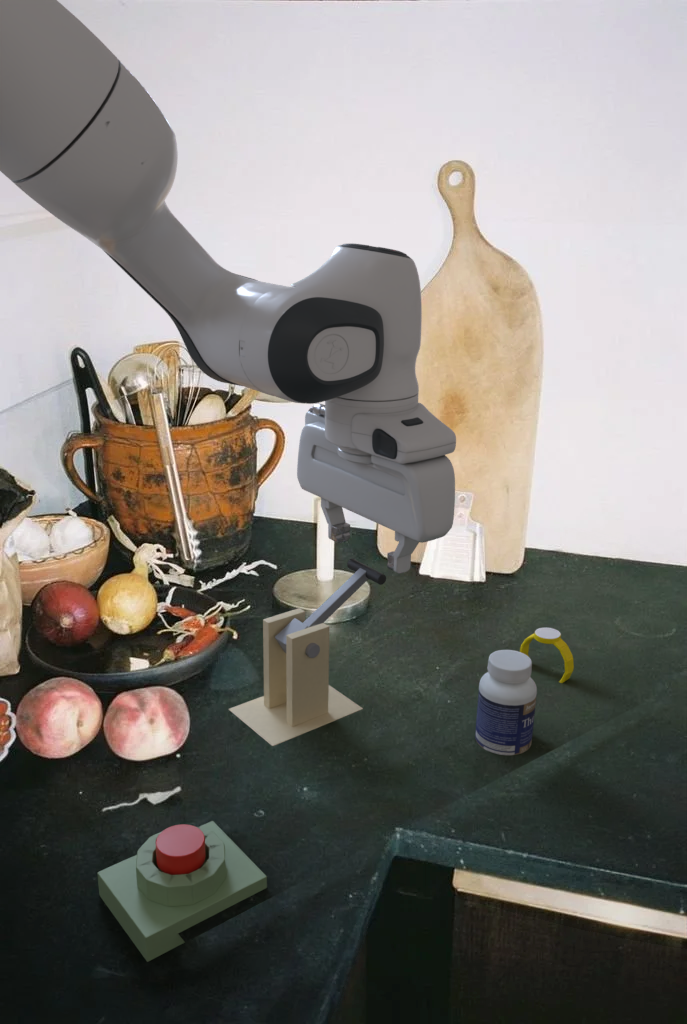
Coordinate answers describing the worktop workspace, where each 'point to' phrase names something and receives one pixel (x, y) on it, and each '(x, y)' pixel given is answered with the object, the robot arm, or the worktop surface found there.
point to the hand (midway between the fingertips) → (367, 554)
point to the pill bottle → (506, 704)
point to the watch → (554, 638)
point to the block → (176, 891)
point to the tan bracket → (294, 683)
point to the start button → (180, 849)
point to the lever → (334, 599)
